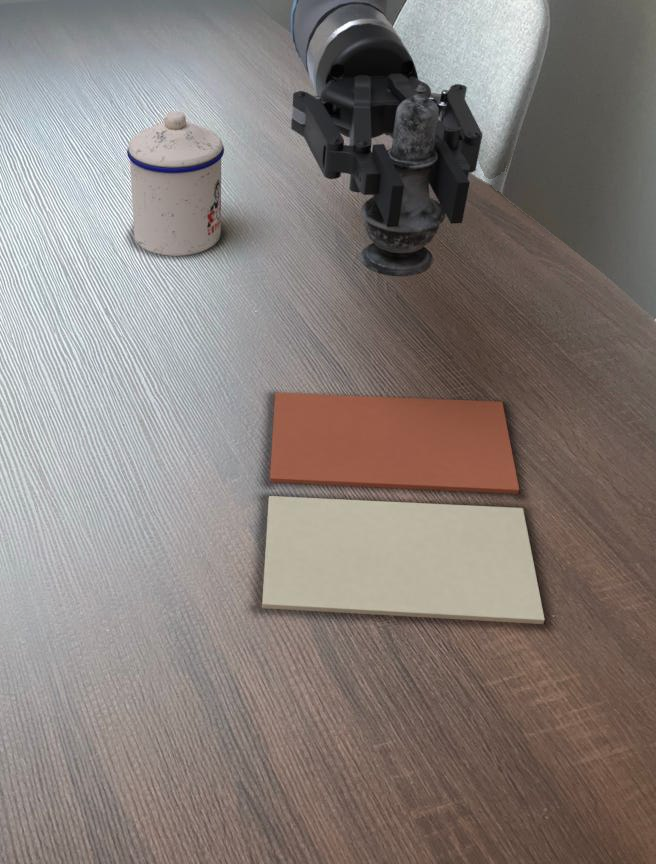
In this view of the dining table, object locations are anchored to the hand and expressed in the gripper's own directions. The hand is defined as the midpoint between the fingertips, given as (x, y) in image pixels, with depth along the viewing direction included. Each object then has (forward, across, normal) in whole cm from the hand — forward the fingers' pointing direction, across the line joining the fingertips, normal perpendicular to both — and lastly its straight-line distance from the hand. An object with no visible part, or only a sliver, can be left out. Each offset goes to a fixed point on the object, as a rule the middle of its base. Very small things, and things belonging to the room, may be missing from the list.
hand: (427, 204), depth 67 cm
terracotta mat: (+2, 0, -18) cm, 18 cm away
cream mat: (+15, +3, -18) cm, 23 cm away
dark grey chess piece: (-5, 0, -7) cm, 9 cm away
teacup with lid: (-35, +15, -18) cm, 42 cm away
